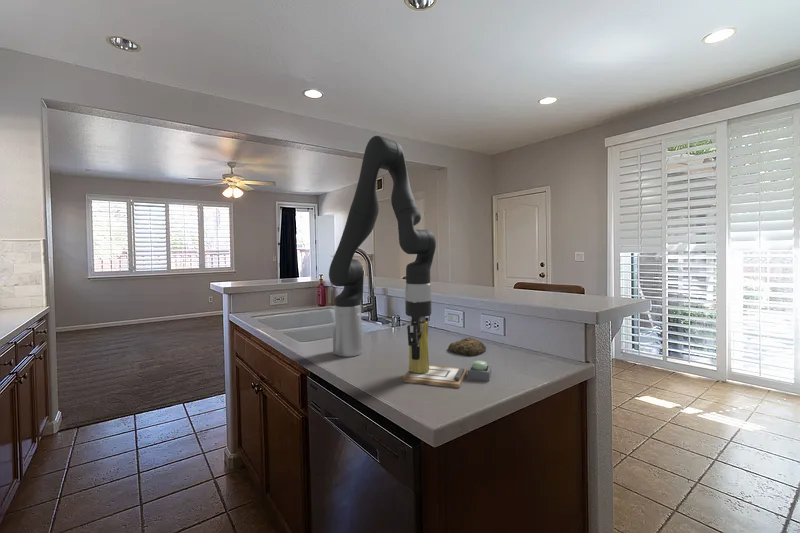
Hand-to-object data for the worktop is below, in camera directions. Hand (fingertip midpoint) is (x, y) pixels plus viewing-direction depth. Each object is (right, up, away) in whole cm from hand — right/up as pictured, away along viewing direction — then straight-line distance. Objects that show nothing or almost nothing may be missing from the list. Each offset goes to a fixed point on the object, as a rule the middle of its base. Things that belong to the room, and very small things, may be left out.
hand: (418, 356), depth 109 cm
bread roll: (+19, -5, +26) cm, 32 cm away
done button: (+17, -3, -2) cm, 18 cm away
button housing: (+17, -5, -2) cm, 18 cm away
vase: (0, -4, 0) cm, 4 cm away
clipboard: (+5, -6, -1) cm, 8 cm away
